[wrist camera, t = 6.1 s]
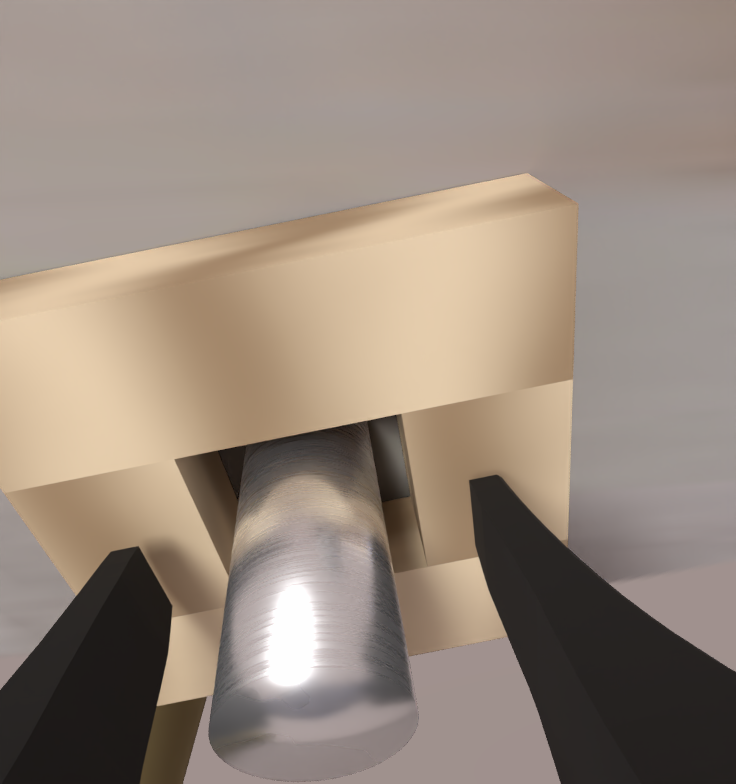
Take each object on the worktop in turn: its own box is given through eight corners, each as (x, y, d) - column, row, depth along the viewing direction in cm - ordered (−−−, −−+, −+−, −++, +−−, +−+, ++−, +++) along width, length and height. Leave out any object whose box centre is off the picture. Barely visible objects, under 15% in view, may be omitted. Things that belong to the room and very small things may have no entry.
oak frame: (527, 173, 12) (578, 204, 10) (533, 555, 18) (564, 625, 16) (-30, 285, 12) (-104, 341, 10) (171, 627, 18) (154, 706, 16)
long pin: (366, 381, 14) (420, 656, 8) (370, 478, 16) (417, 767, 10) (238, 392, 14) (189, 683, 8) (256, 489, 16) (227, 792, 9)
